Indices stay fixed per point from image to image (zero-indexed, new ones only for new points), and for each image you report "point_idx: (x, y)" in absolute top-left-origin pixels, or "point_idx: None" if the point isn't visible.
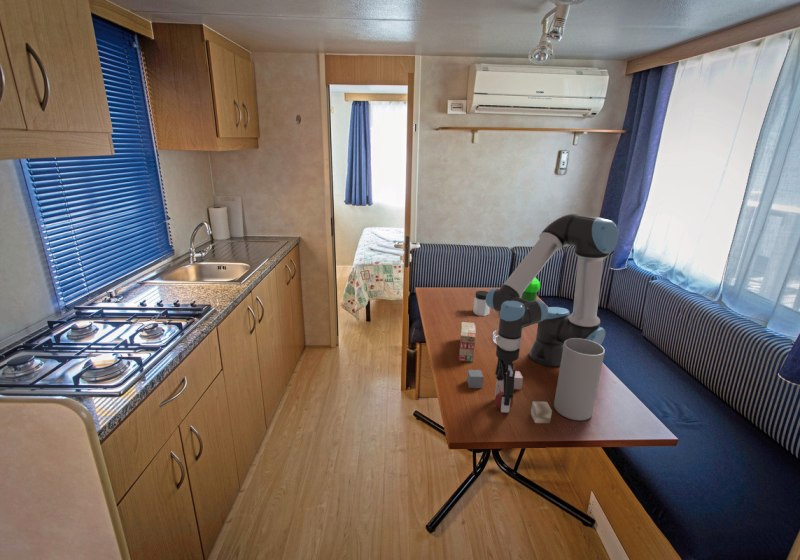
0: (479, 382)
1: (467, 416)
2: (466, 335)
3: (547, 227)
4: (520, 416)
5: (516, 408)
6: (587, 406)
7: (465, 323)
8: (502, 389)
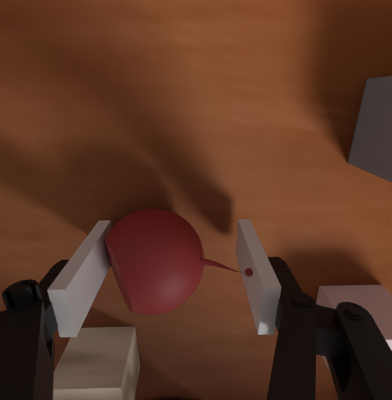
0: (378, 152)
1: (45, 8)
2: None
3: None
4: (107, 289)
5: None
6: None
7: None
8: (244, 278)
